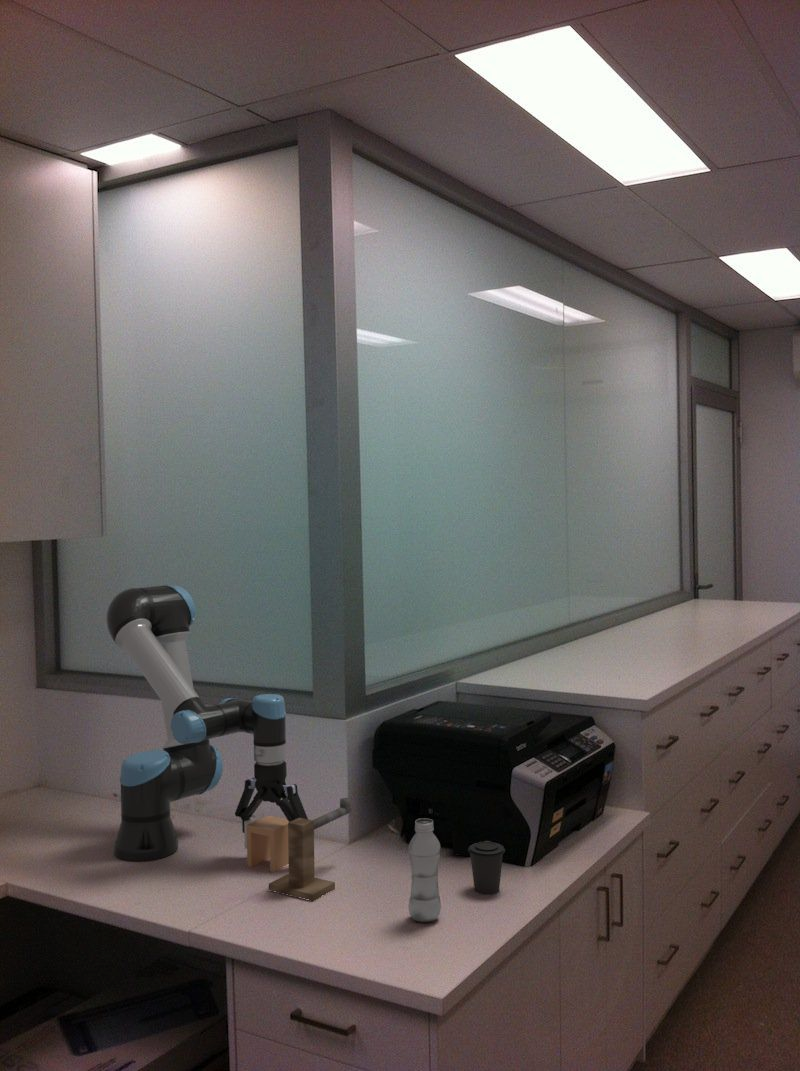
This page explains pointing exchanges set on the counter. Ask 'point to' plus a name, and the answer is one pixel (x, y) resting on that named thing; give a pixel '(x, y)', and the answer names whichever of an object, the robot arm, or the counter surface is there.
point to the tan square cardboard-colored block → (268, 842)
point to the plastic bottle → (424, 873)
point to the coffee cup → (486, 866)
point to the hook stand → (306, 857)
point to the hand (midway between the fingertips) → (272, 851)
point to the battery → (460, 845)
